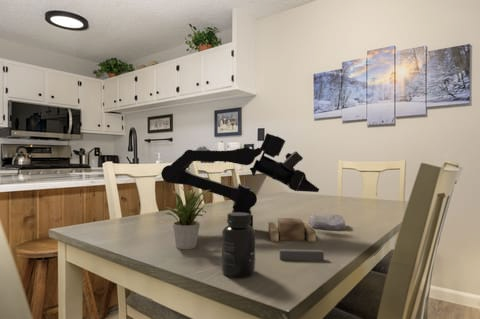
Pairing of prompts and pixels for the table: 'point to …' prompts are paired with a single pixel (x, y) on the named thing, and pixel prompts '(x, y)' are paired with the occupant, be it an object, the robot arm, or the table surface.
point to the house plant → (187, 220)
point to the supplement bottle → (238, 246)
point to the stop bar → (301, 254)
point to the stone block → (327, 222)
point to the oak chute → (308, 232)
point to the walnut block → (291, 229)
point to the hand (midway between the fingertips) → (315, 189)
